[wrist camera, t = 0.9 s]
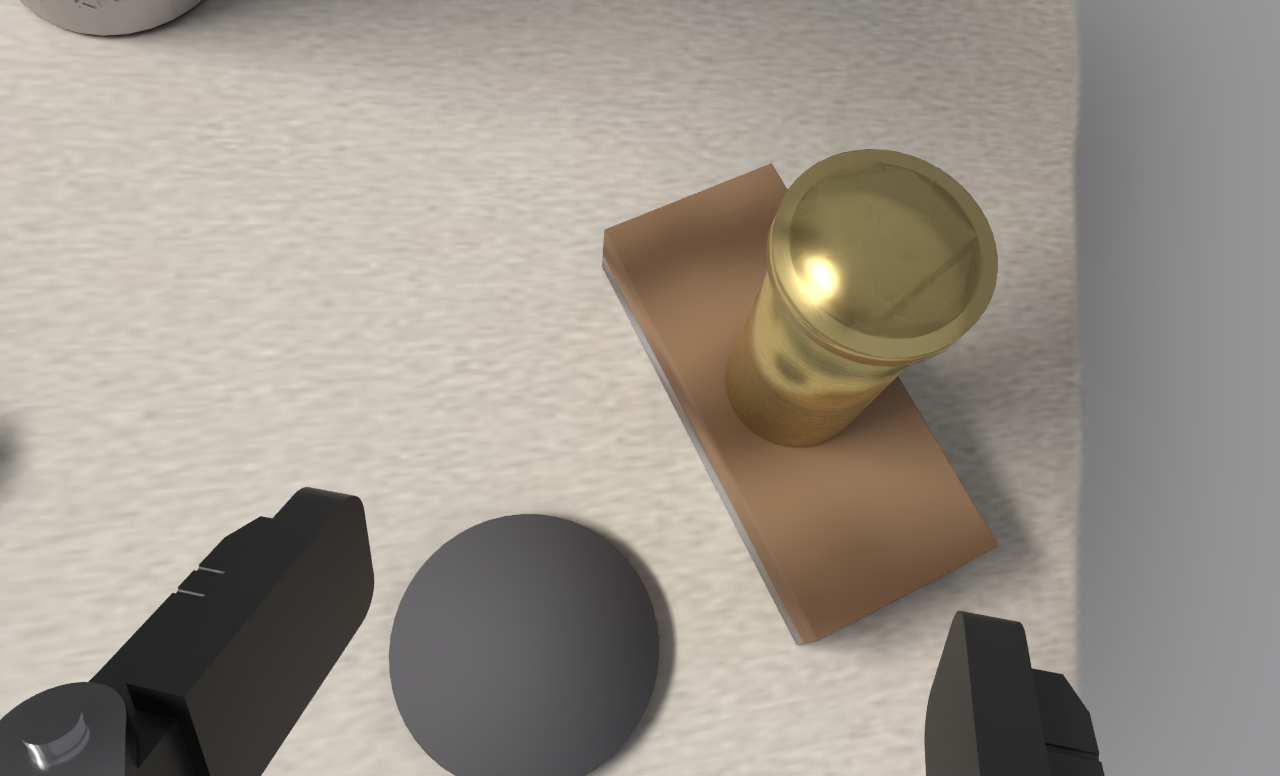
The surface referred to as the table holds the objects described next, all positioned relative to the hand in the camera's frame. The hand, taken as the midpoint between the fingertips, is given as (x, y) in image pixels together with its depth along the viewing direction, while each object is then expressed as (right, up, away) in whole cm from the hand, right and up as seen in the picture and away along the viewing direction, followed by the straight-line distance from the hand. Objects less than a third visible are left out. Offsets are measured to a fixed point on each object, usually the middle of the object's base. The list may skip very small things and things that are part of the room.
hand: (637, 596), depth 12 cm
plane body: (+5, +2, +22) cm, 23 cm away
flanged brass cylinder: (+5, +3, +20) cm, 21 cm away
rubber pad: (-4, -6, +19) cm, 20 cm away
